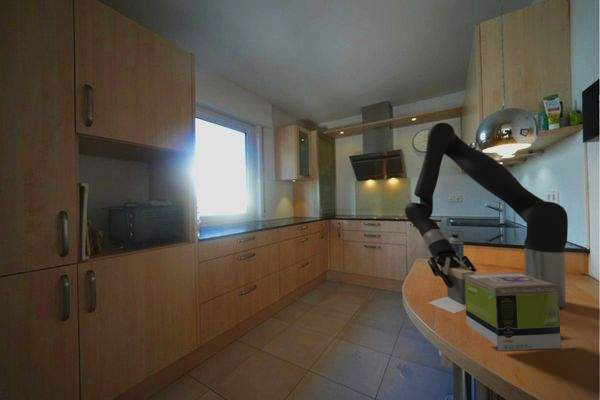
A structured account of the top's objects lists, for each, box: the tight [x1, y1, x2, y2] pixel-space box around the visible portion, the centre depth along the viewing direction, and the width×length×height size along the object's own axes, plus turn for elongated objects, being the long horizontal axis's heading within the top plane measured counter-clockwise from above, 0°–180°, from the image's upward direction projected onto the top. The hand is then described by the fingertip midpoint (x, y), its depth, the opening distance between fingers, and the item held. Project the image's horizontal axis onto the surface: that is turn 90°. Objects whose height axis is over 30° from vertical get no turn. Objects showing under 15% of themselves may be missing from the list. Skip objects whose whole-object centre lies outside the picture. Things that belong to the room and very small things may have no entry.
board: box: [427, 295, 466, 314], centre depth 74 cm, size 14×8×1 cm, turn 117°
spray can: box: [447, 233, 465, 267], centre depth 95 cm, size 6×6×20 cm
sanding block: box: [446, 267, 475, 305], centre depth 76 cm, size 4×6×10 cm
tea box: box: [465, 272, 562, 352], centre depth 57 cm, size 15×10×15 cm, turn 92°
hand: (463, 286), depth 75 cm, fingers open, 8 cm apart
